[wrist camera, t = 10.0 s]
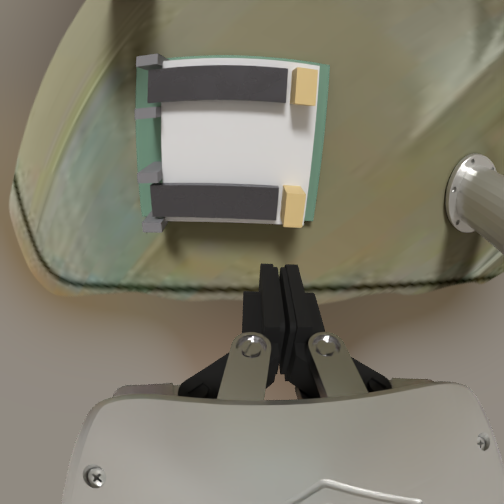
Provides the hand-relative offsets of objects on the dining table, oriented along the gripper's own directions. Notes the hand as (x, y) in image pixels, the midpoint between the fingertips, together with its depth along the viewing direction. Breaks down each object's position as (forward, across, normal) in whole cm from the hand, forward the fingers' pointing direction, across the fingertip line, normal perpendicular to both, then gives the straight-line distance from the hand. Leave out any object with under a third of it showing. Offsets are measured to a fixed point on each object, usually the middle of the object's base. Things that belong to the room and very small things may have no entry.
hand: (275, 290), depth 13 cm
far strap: (+15, +5, +1) cm, 15 cm away
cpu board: (+20, +4, -5) cm, 21 cm away
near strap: (+15, +5, -10) cm, 18 cm away
